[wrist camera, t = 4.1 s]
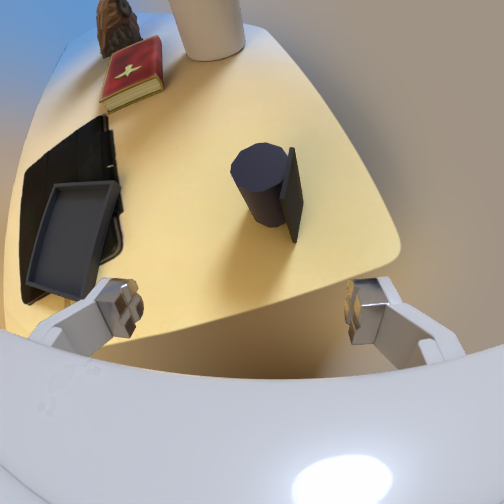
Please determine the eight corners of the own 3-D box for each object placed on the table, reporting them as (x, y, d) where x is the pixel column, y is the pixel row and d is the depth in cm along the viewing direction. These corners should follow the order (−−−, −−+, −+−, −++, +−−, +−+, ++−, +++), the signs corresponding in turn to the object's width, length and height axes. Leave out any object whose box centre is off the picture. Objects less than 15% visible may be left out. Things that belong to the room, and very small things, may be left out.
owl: (126, 35, 53) (104, -12, 34) (159, 29, 51) (138, -24, 32) (101, 58, 50) (73, 9, 31) (133, 52, 48) (105, -5, 29)
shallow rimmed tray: (91, 305, 31) (82, 302, 29) (34, 286, 33) (25, 283, 31) (121, 187, 35) (114, 180, 33) (61, 189, 37) (54, 183, 35)
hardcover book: (163, 46, 47) (158, 33, 43) (165, 90, 41) (157, 74, 37) (117, 64, 47) (111, 53, 43) (108, 114, 41) (98, 100, 37)
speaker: (319, 204, 31) (320, 151, 22) (295, 244, 30) (287, 202, 21) (266, 179, 34) (248, 124, 24) (241, 215, 33) (213, 168, 23)
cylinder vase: (246, 33, 45) (231, -58, 21) (245, 58, 42) (227, -53, 18) (191, 40, 46) (165, -45, 22) (182, 67, 43) (146, -35, 19)
